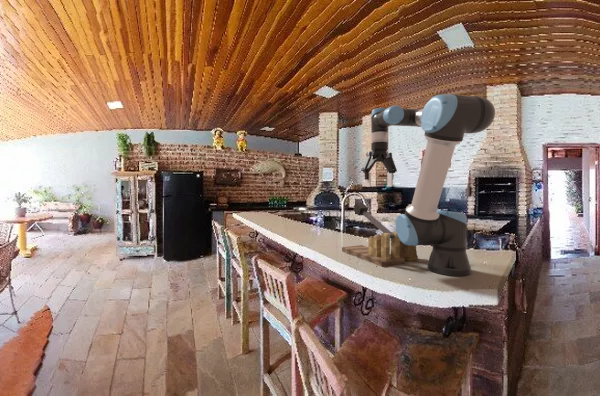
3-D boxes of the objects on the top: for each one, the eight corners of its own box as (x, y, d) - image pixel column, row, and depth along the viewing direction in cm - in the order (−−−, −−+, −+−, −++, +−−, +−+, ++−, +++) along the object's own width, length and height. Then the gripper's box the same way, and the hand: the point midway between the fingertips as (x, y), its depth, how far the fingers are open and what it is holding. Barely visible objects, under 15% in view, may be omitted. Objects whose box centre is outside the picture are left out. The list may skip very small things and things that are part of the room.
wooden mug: (427, 258, 135) (427, 218, 135) (411, 263, 127) (411, 220, 126) (409, 254, 142) (409, 216, 141) (392, 259, 134) (393, 218, 133)
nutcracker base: (404, 263, 127) (405, 232, 126) (381, 266, 122) (382, 234, 121) (361, 248, 154) (362, 223, 153) (341, 251, 149) (342, 225, 148)
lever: (394, 240, 126) (397, 232, 125) (386, 241, 125) (389, 233, 123) (360, 210, 148) (362, 202, 146) (353, 210, 146) (355, 203, 144)
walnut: (384, 243, 132) (384, 234, 132) (377, 244, 130) (377, 235, 130) (378, 242, 136) (378, 233, 135) (371, 242, 134) (371, 234, 134)
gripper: (393, 144, 152) (392, 186, 152) (353, 141, 140) (353, 186, 141) (404, 142, 145) (404, 186, 146) (363, 139, 133) (363, 186, 134)
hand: (379, 186), depth 143 cm, fingers open, 13 cm apart
